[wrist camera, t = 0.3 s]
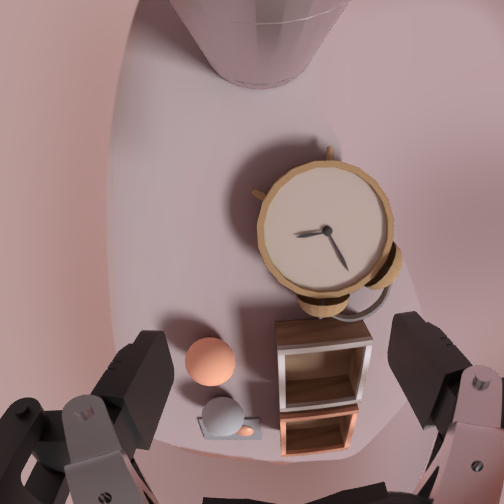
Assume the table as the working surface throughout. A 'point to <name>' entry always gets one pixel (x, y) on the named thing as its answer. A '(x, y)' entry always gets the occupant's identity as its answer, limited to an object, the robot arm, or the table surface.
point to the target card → (246, 432)
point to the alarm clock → (328, 236)
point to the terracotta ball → (210, 361)
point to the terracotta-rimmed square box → (317, 430)
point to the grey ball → (222, 416)
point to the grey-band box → (321, 362)
